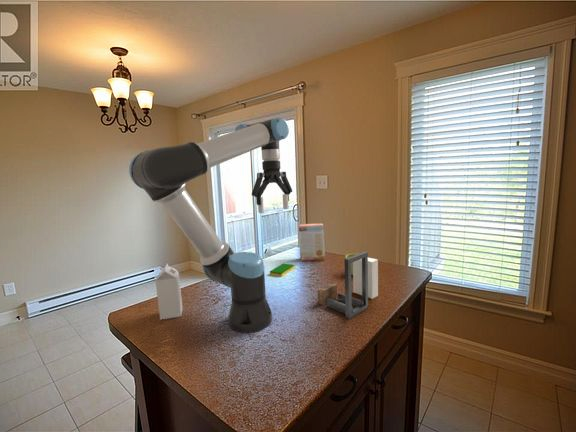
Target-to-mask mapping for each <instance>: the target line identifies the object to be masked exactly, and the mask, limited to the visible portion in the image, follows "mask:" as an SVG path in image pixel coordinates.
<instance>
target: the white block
mask: <svg viewBox="0 0 576 432" xmlns="http://www.w3.org/2000/svg"><path fill="white" fill-rule="evenodd" d="M352 276H353V277H352V279H353V280H352V282H353V284H352V287H353V288H352V289H353V290H352V293H354V294H358V295H360V296H362V259H360V260H357V261H355V262H353V275H352ZM378 296H379V259H377V258H372V257H368V299H372V300H374V299H375V298H376V297H378Z"/></svg>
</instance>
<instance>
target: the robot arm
mask: <svg viewBox="0 0 576 432" xmlns="http://www.w3.org/2000/svg"><path fill="white" fill-rule="evenodd" d="M289 133H290V127H289V123H288V122H287V121H286V119H285V118H283V117H274V118H271V119H266V120H263V121H260V122H256V123H251V124H246V123H240V124H237V126H236V127H235V128H234V131H232V132H227V133H225V134H222V135H220V136H217V137H214V138H211V139H208V140H205V141H201V142H198V143H197V142H195V141H189V142H186V143H183V144H178V145H172V146H171V145H170V146H169V145H168V146H163V147H157V148H154V149H148V150H144V151H142V152H140V153H138V154H137V155H135V156H134V157H133V158H132V159H131V161H130V164H129V168H128V173H129V177H130V179H131V180H132V183H134V184H135V185H136V186H137V187H139V188H140V189H143V190H144V191H145V193H147V195H148V196H149V197H150V199H151V200H152V202H155V203H160V204H161V205H162V207H164V209H165V211H166V212H167V214H169V216H170V217H171V218H172V219H173V220H174V222H175V224H176V225H177V227H179V229H180V230H181V231H182V233H183V235H184V236H185V237H186V238H187V239H188V241H189V242H190V243H191V245H192V246H193V248H195V250H196V251H197V253H198V254H199V255H200V258H199V259H200V260H199V262H200V264H201V265H202V270H203V273H204V275H206V277H207V278H208V279H209V280H211V281H212V282H215V283H218V284H220V285H223V286H225V287H227V288H229V289H230V296H231V297H230V298H231V305H230V309H229V313H228V316H227V320H228V327H229V328H230V329H231V330H233V331H235V332H238V333H253V332H258V331H261V330H262V329H265V328H266V327H268V326H270V324H271V322H272V320H273V313H272V309H271V307H270V304H269V302H268V300H267V297H266V278H265V265H264V260H263V257H262V256H261V255H259V254H258V253H255V252H251V251H249V252H247V251H239V252H234V251H233V249H232V248H231V247H230V245H229V243H227V242H225V241H221V239H220V238H219V236H218V235H217V233H216V232H215V230H214V229H213V227H212V226H211V224H210V223H209V222H208V220H207V219H206V217H205V216H204V214H203V212H202V211H201V210H200V208H199V207H198V206H197V205H198V204H196V202H195V200H193V198H192V196H191V195H190V194H189V192H188V191H187V190H186V186H187V184H186V183H189V182H190V181H192V180H194V179H196V178H198V177H200V176H203V175H205V174H207V173H208V171H209V169H210V168H214V167H215V166H218V165H220V164H223V163H224V162H228V161H229V160H232V159H234V158H235V159H236V158H237V157H239V156H242V155H244V154H247V153H249V152H252V151H254V150H256V149H259V148H261V159H262V163H261V165H262V171H263V172H257V173H256V180H255V183H254V186H253V189H252V191H251V196H252V197H255V200H256V201H255V203H256V206H257V209H258V210H257V211H258V213H259V214H264V212H265V211H264V197H263V196H262V195H263V194H264V192H265V190H266V188H267V187H268V185H269V184H273V183H275V184H277V186H278V187H279V189H280V190H281V191H282V193H283V194H282V208H283V210H289V201H290V196H289V195H291V194H292V193H293V188H292V186H291V185H290V181H289V180H288V177H287V172H286V171H280V170H281V161H280V160H281V153H280V141H283V140H285V139H286V138H288V135H289Z"/></svg>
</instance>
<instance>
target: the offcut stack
mask: <svg viewBox="0 0 576 432" xmlns="http://www.w3.org/2000/svg"><path fill="white" fill-rule="evenodd" d="M328 298H330V299H333V300H335V301H336V300H338V284H337V283H333V284H332V283H329V284H327V285H325V286H322V287H320V288H318V289H317V304H319V305H322V306H325V305H326V306H327V299H328Z"/></svg>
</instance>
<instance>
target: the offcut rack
mask: <svg viewBox="0 0 576 432" xmlns="http://www.w3.org/2000/svg"><path fill="white" fill-rule="evenodd" d="M368 253H369V252H368V251H362V252H360V253H355V254H356V255H354V256H351V257H348V258H346V257H345V258H344V261H343V262H344V293H341V292H337V300H336V299H335V300H333V299H330V298H328V299H327V304H326V307H328V308H331V309H333V310H335V311H338V312H340V313H343V314H345V319H348V320H350V319H352V318H353V317H355V316H357V315H358V314H360V313H362V312H363V311H364V310H366V309H368V308H369V298H368V258H369V255H368ZM360 259H362V295H361V298H362V299H359V298H357V297H353V296H352V275H351V263H352V262H355V261H357V260H360Z"/></svg>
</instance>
